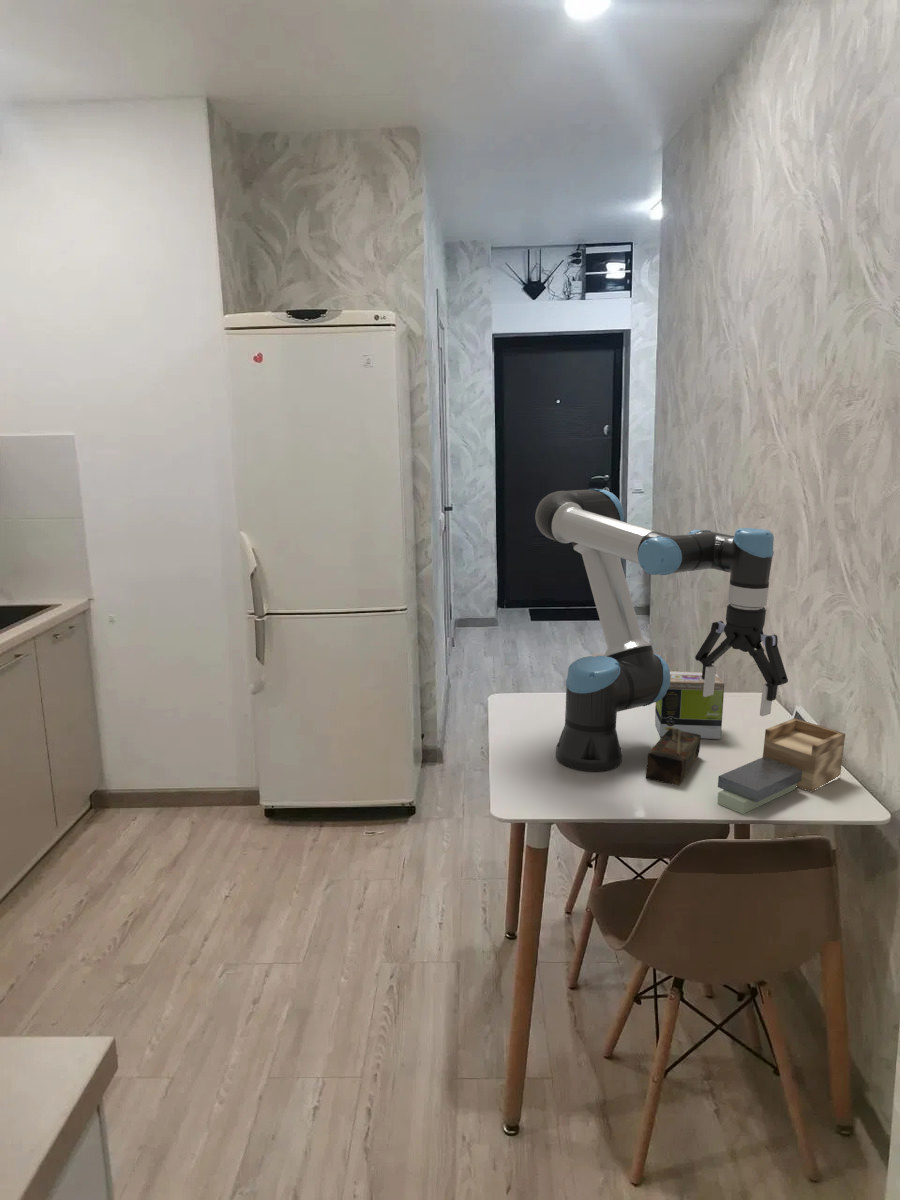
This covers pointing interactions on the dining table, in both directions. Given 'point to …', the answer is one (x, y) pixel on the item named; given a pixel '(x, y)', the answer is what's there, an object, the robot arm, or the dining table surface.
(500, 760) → the dining table surface
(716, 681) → the tea box
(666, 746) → the beverage carton
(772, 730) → the oak box
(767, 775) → the cover plate
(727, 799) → the block
